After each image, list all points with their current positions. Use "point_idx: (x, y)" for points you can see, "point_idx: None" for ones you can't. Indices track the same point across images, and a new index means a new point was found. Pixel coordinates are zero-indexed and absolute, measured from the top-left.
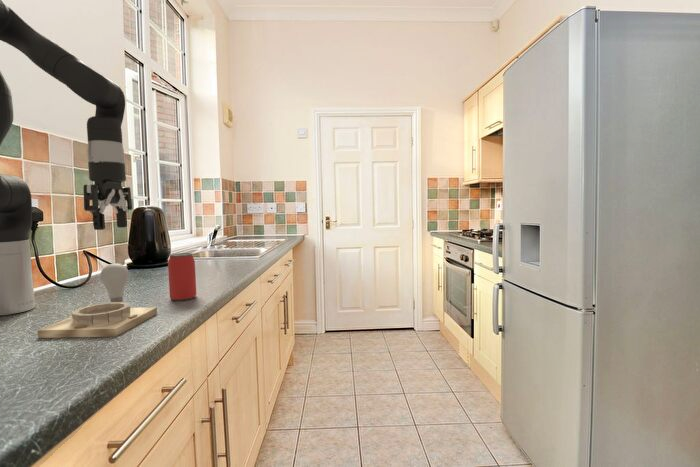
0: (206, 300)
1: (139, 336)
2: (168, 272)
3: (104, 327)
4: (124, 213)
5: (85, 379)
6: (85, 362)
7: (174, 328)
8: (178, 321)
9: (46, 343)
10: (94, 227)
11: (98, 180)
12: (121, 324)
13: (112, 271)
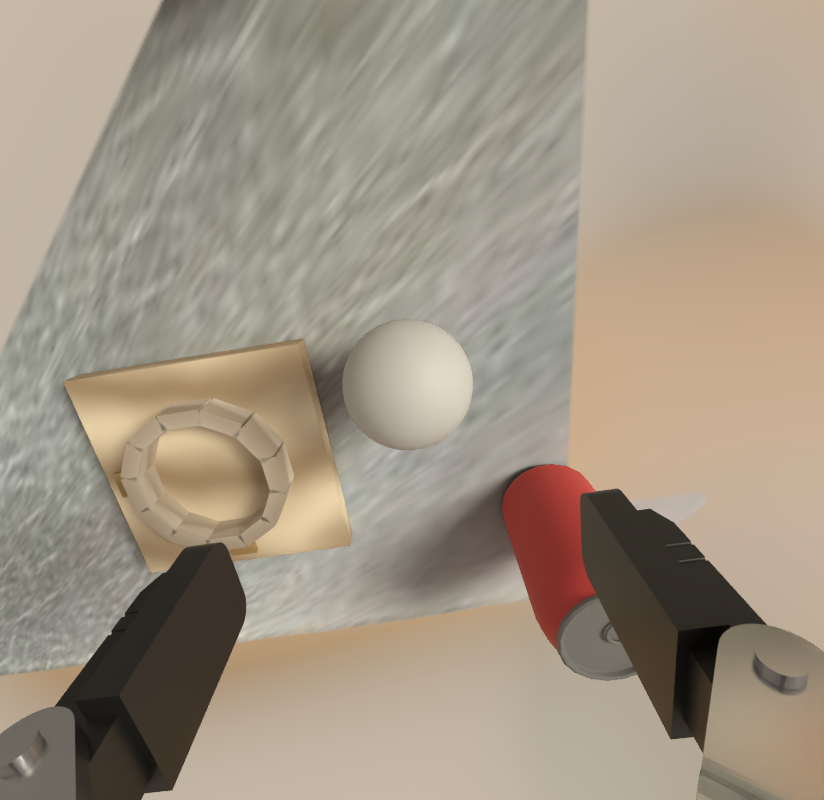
0: (513, 583)
1: None
2: (550, 535)
3: (149, 540)
4: (669, 724)
5: None
6: (33, 603)
7: (249, 639)
8: (299, 620)
9: (64, 436)
10: (182, 559)
11: None
12: None
13: (359, 425)
